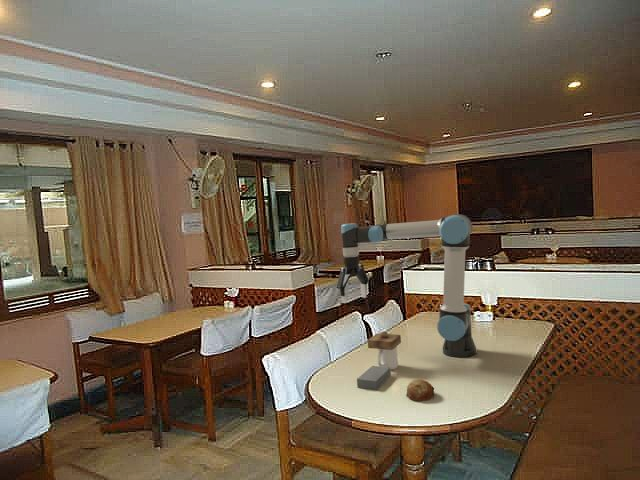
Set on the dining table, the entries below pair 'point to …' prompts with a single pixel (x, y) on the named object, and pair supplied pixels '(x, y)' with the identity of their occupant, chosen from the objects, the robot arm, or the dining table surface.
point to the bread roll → (420, 390)
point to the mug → (387, 358)
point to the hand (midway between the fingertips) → (354, 300)
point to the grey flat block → (373, 377)
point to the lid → (384, 341)
